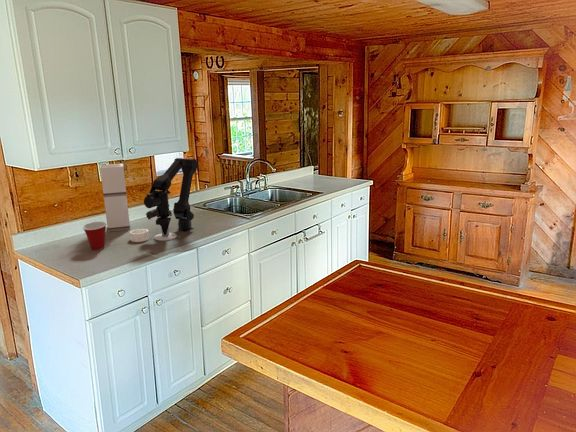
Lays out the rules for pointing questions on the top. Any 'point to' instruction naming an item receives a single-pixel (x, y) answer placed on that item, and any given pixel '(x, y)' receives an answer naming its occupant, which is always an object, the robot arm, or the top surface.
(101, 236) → the plastic cup
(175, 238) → the mat
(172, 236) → the lid
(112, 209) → the mini fridge
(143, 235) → the bowl
